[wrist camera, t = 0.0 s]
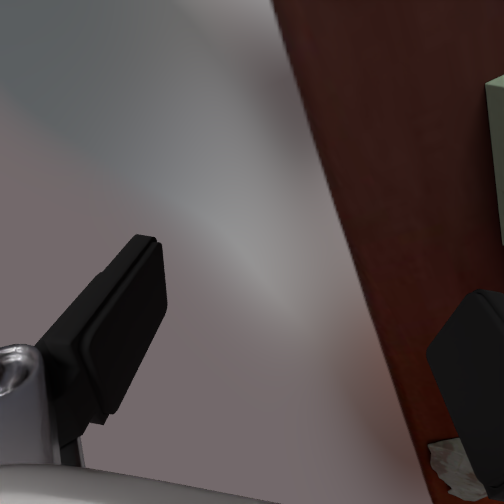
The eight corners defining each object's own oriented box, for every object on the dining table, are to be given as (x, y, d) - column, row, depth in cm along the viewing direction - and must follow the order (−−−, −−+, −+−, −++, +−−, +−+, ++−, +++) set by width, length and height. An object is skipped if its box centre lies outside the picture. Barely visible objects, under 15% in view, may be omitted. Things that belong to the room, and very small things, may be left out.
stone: (515, 431, 36) (426, 434, 39) (533, 462, 34) (436, 464, 36) (495, 487, 46) (425, 487, 49) (508, 515, 43) (433, 513, 46)
